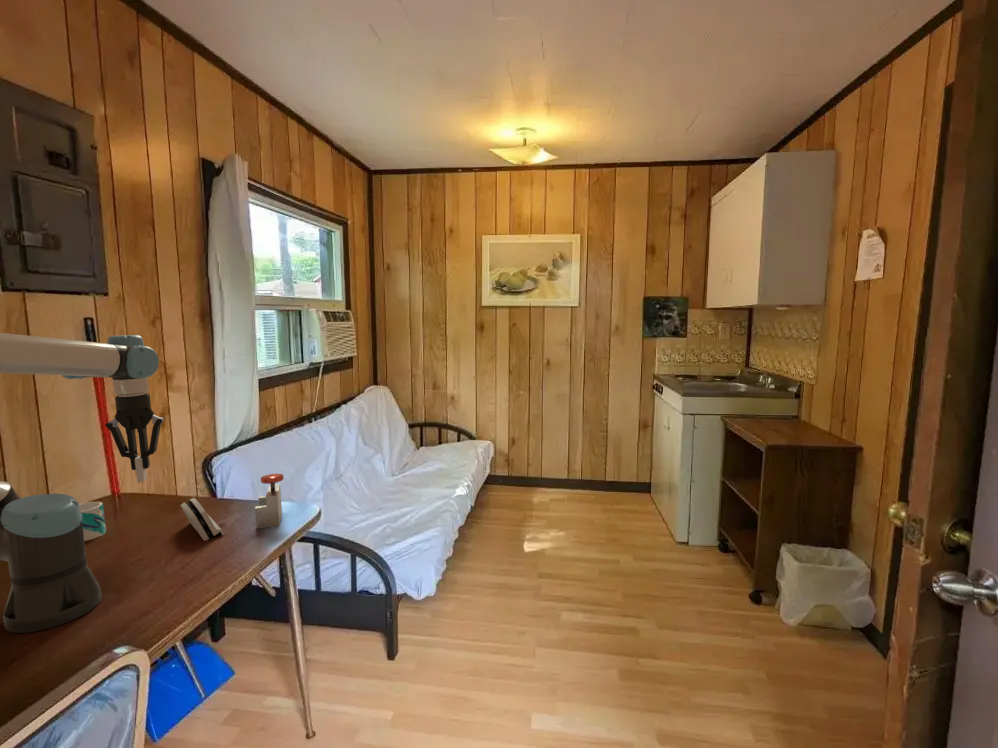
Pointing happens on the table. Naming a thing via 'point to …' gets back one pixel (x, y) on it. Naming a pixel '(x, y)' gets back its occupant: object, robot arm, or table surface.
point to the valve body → (269, 503)
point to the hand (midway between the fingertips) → (142, 480)
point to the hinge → (200, 519)
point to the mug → (92, 520)
